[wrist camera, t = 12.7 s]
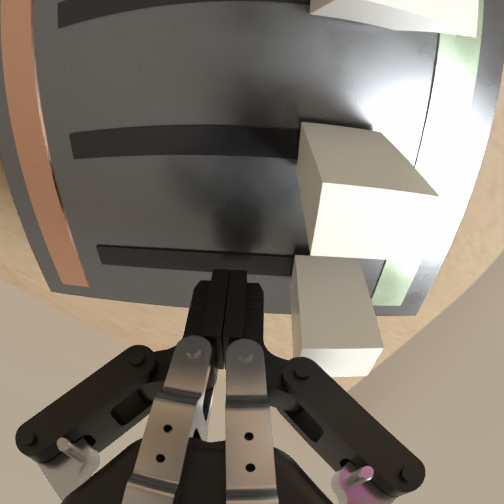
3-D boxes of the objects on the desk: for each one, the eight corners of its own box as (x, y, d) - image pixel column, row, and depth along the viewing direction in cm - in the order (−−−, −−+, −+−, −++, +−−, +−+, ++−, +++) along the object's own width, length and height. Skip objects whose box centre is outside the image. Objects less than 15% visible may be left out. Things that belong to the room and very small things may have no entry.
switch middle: (301, 121, 10) (322, 182, 7) (380, 131, 10) (440, 196, 7) (296, 171, 12) (310, 255, 8) (371, 179, 12) (416, 261, 8)
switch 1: (294, 254, 14) (301, 348, 10) (358, 258, 14) (383, 347, 10) (290, 286, 15) (293, 376, 12) (349, 289, 15) (366, 375, 12)
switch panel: (9, -14, 7) (-18, -13, 6) (483, -16, 7) (509, -17, 5) (63, 271, 19) (50, 292, 18) (406, 292, 19) (415, 316, 17)
